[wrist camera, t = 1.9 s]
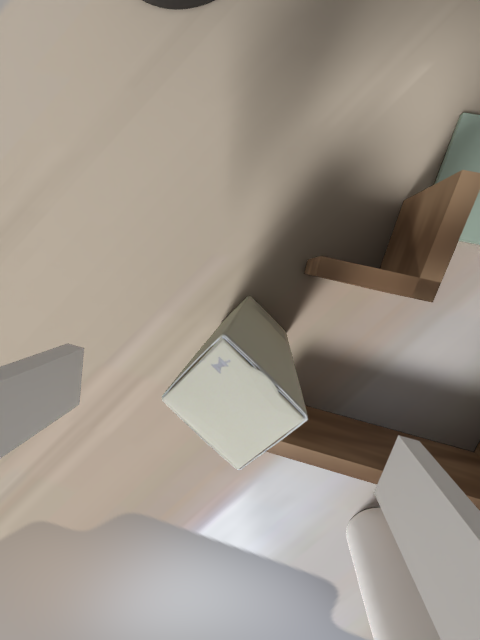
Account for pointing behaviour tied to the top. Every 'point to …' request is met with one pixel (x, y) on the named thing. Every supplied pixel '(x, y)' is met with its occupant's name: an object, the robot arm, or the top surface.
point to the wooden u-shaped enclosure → (405, 280)
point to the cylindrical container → (386, 581)
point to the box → (241, 387)
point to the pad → (465, 166)
